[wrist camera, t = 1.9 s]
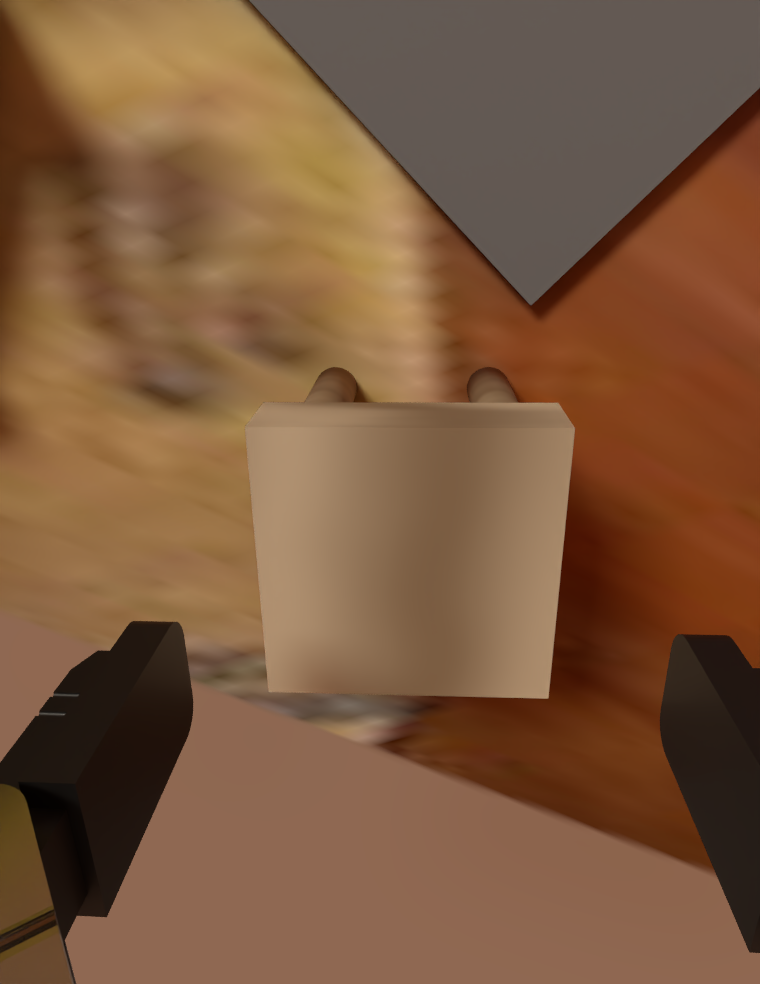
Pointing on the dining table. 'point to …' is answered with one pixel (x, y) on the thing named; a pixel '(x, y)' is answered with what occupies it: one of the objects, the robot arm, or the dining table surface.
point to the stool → (409, 540)
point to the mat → (532, 105)
